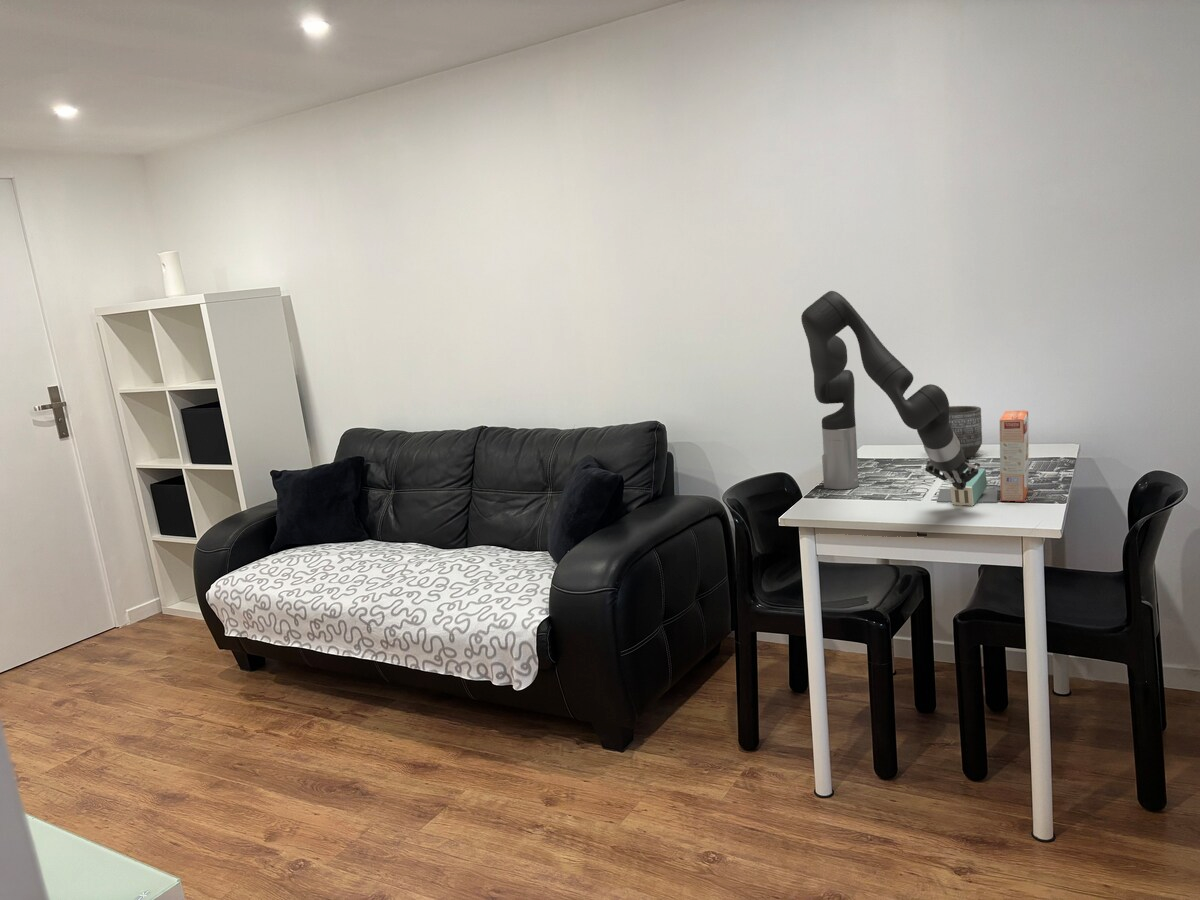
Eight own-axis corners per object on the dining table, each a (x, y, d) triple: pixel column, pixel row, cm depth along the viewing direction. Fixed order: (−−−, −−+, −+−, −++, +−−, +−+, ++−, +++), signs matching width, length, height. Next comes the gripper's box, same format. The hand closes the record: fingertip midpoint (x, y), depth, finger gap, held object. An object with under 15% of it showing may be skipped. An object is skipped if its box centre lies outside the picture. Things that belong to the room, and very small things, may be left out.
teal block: (950, 486, 216) (965, 467, 225) (952, 504, 218) (966, 485, 226) (971, 487, 213) (985, 468, 222) (973, 506, 215) (986, 486, 223)
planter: (924, 459, 272) (922, 412, 269) (946, 450, 281) (944, 405, 278) (969, 462, 261) (968, 413, 259) (990, 453, 270) (989, 406, 268)
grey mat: (936, 502, 221) (936, 501, 221) (940, 490, 233) (940, 488, 233) (997, 503, 215) (997, 501, 215) (997, 490, 227) (997, 488, 227)
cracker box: (1026, 502, 213) (1025, 418, 209) (999, 502, 216) (997, 419, 212) (1030, 489, 225) (1029, 409, 221) (1004, 488, 228) (1003, 410, 224)
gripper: (910, 460, 206) (930, 497, 217) (968, 462, 197) (986, 501, 208) (918, 433, 209) (937, 472, 220) (975, 435, 200) (992, 475, 212)
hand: (961, 486), depth 214 cm, fingers closed
